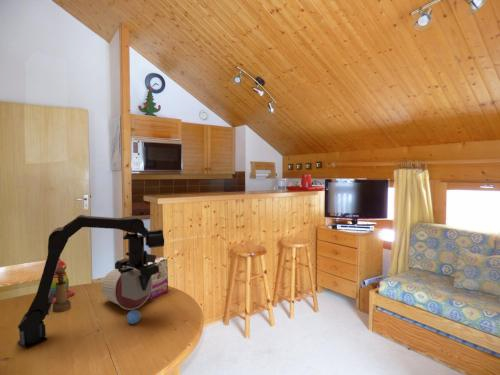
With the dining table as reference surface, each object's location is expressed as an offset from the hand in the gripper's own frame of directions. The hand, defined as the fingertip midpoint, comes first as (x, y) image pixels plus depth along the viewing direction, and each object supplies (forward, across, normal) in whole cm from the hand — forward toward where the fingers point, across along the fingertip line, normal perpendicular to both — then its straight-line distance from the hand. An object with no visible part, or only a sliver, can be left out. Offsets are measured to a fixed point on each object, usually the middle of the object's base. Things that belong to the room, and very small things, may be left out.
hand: (137, 288), depth 119 cm
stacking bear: (+13, +48, +4) cm, 50 cm away
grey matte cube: (+2, 0, 0) cm, 2 cm away
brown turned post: (+13, +36, +9) cm, 39 cm away
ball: (+10, 0, +2) cm, 11 cm away
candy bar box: (+13, +12, -21) cm, 28 cm away
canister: (+6, +26, -9) cm, 28 cm away
